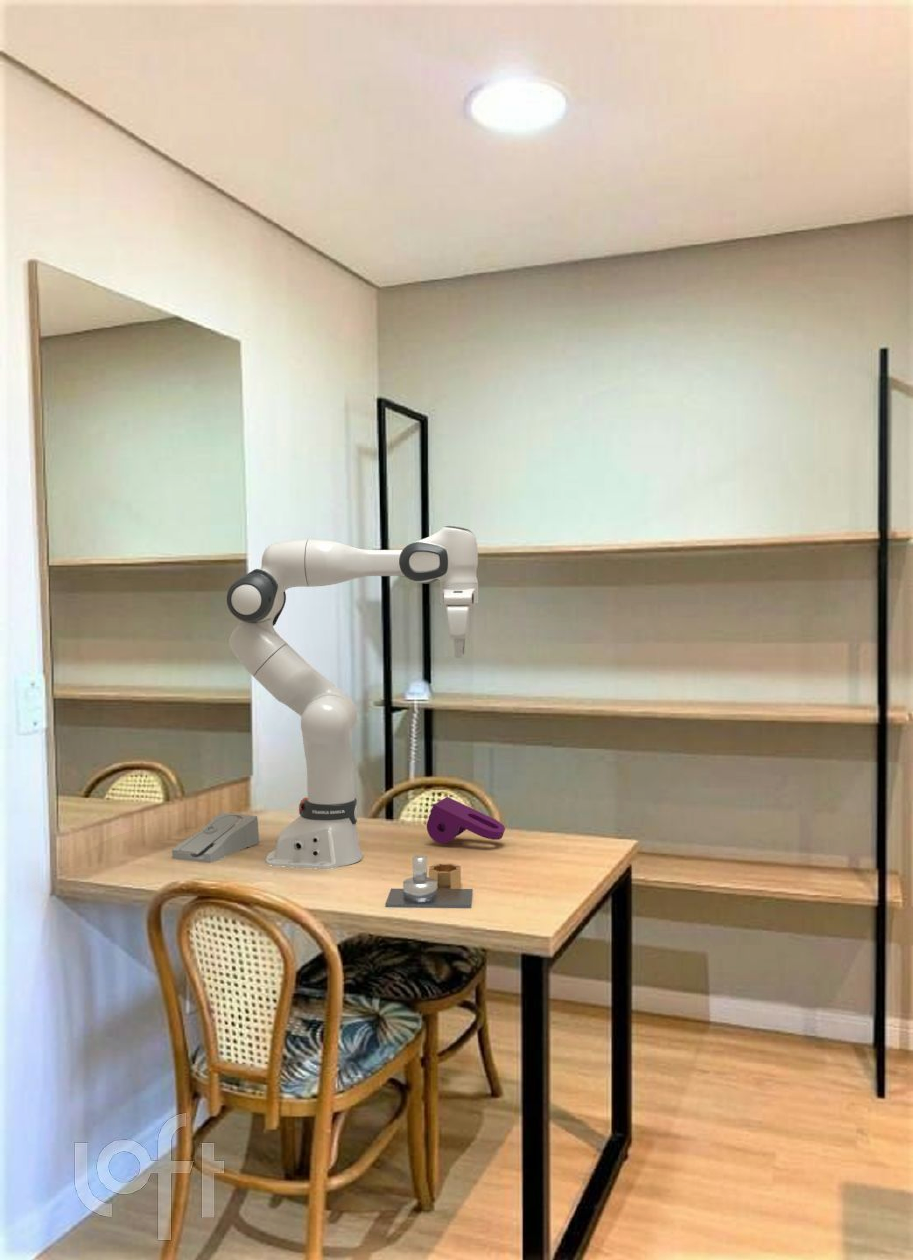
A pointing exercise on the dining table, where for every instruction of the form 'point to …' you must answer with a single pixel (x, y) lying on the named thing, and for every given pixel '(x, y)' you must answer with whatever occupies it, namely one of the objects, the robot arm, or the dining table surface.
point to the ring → (446, 875)
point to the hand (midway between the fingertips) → (459, 656)
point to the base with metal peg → (427, 891)
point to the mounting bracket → (460, 822)
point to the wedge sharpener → (219, 838)
